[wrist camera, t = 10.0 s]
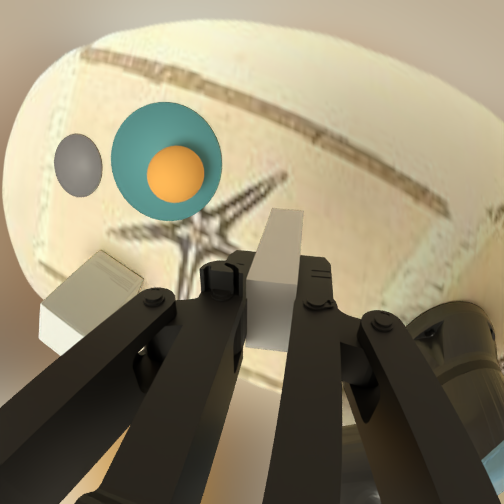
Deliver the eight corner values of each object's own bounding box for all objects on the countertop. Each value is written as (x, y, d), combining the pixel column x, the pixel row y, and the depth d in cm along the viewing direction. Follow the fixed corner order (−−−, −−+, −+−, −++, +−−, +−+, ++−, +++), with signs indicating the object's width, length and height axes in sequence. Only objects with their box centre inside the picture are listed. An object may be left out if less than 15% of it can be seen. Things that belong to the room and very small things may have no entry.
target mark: (221, 99, 28) (221, 99, 28) (222, 224, 34) (222, 224, 34) (108, 108, 30) (107, 108, 30) (118, 217, 36) (117, 217, 35)
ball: (158, 147, 31) (207, 138, 30) (169, 196, 33) (216, 191, 32) (130, 156, 26) (184, 144, 25) (143, 213, 29) (196, 207, 27)
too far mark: (99, 130, 31) (98, 131, 31) (105, 197, 35) (104, 197, 35) (52, 137, 32) (51, 137, 32) (59, 196, 36) (58, 197, 36)
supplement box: (100, 247, 38) (39, 300, 27) (145, 278, 39) (93, 342, 28) (88, 284, 42) (36, 338, 31) (129, 313, 42) (84, 375, 31)
